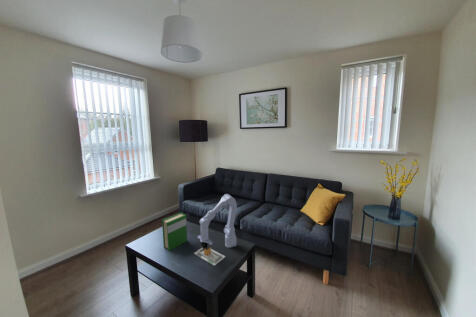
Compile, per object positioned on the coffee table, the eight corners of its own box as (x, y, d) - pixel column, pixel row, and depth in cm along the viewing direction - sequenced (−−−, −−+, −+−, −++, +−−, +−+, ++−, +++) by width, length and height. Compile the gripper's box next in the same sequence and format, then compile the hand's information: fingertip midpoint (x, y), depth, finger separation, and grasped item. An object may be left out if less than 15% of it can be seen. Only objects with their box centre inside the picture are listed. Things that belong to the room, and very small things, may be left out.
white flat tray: (205, 247, 156) (205, 244, 156) (225, 258, 143) (225, 255, 143) (193, 255, 147) (193, 252, 146) (214, 267, 134) (214, 264, 133)
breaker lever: (208, 251, 148) (207, 245, 147) (210, 253, 146) (210, 247, 146) (204, 254, 145) (204, 248, 144) (207, 255, 143) (206, 249, 142)
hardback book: (168, 251, 151) (167, 222, 148) (163, 247, 156) (162, 220, 152) (187, 241, 165) (186, 214, 161) (182, 237, 170) (180, 212, 166)
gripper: (194, 232, 146) (194, 248, 148) (207, 239, 138) (207, 256, 140) (201, 228, 152) (201, 244, 154) (214, 234, 143) (214, 251, 145)
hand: (204, 249), depth 147 cm, fingers closed
